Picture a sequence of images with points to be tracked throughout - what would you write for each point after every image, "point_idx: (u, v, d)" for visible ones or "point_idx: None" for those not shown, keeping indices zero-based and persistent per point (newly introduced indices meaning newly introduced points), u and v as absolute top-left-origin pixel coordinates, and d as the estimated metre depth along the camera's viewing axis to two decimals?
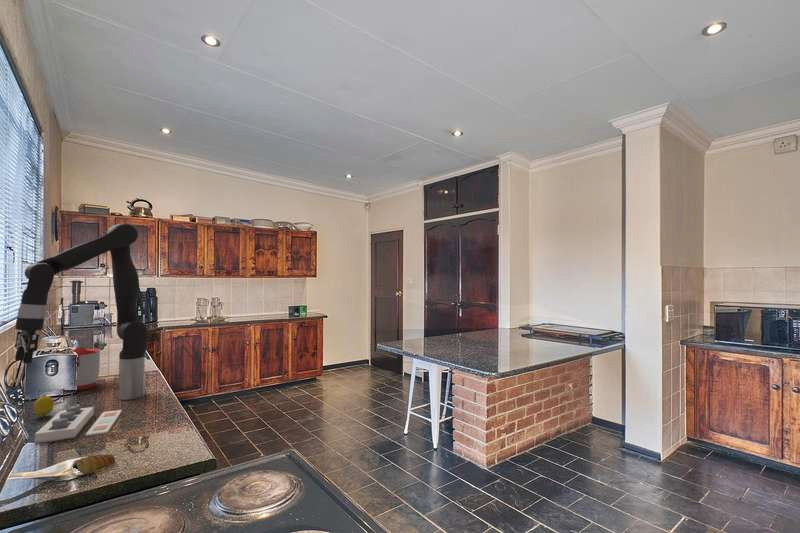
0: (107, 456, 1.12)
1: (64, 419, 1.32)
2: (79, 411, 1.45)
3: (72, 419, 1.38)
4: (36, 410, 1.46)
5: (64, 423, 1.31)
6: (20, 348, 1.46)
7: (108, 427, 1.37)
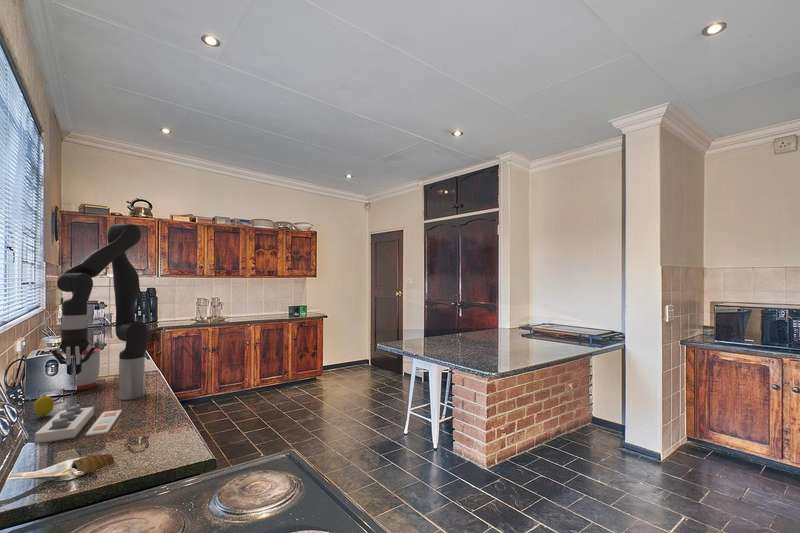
0: (106, 456, 1.12)
1: (64, 419, 1.32)
2: (79, 411, 1.45)
3: (72, 419, 1.38)
4: (36, 410, 1.46)
5: (64, 423, 1.31)
6: (71, 362, 1.44)
7: (108, 427, 1.37)
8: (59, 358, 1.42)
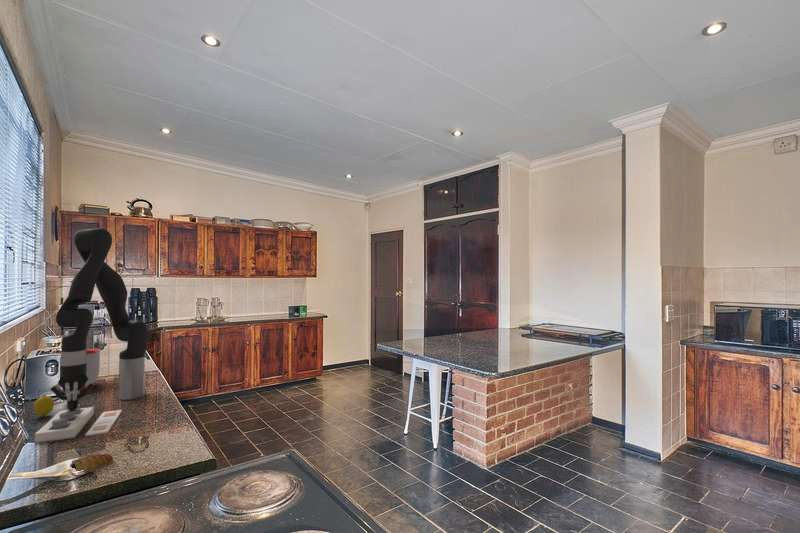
0: (105, 455, 1.12)
1: (64, 419, 1.32)
2: None
3: (72, 419, 1.38)
4: (36, 410, 1.46)
5: (64, 423, 1.31)
6: (71, 397, 1.44)
7: (108, 427, 1.37)
8: (59, 394, 1.42)
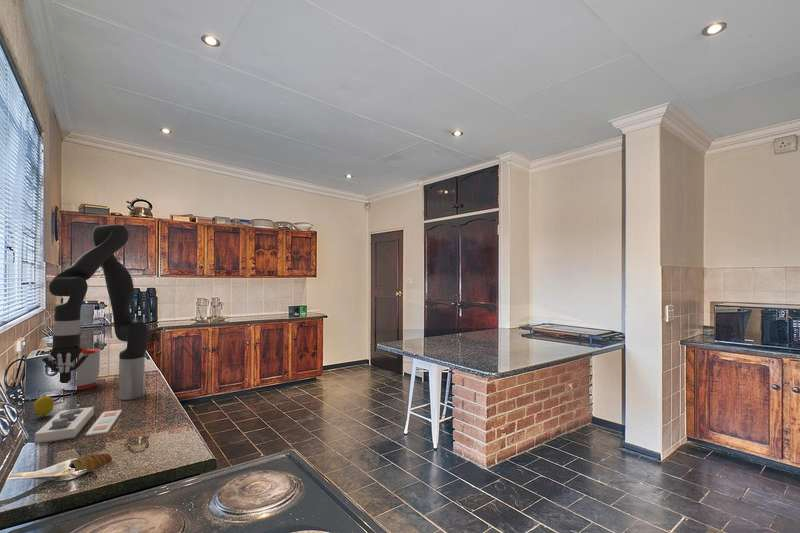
0: (104, 455, 1.13)
1: (64, 419, 1.32)
2: None
3: (72, 419, 1.38)
4: (36, 410, 1.46)
5: (64, 423, 1.31)
6: (64, 369, 1.38)
7: (108, 427, 1.37)
8: (51, 365, 1.36)
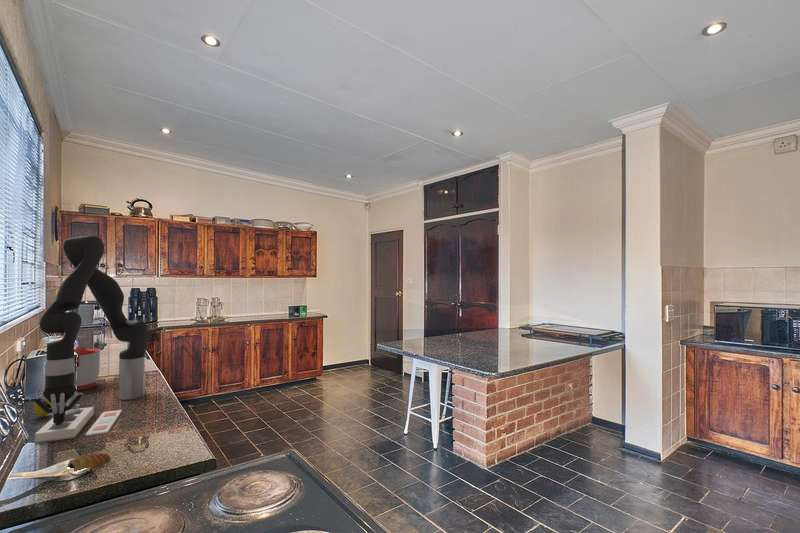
0: (102, 455, 1.13)
1: (64, 423, 1.32)
2: None
3: (72, 419, 1.38)
4: (36, 410, 1.46)
5: (64, 427, 1.31)
6: (58, 410, 1.31)
7: (108, 427, 1.37)
8: (44, 407, 1.29)
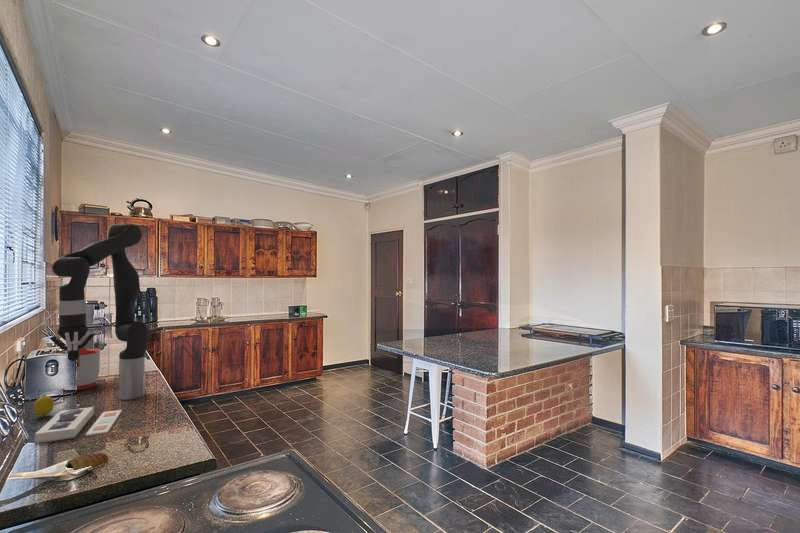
0: (100, 454, 1.13)
1: (64, 423, 1.32)
2: None
3: (72, 419, 1.38)
4: (36, 410, 1.46)
5: (64, 427, 1.31)
6: (72, 347, 1.42)
7: (108, 427, 1.37)
8: (60, 344, 1.40)
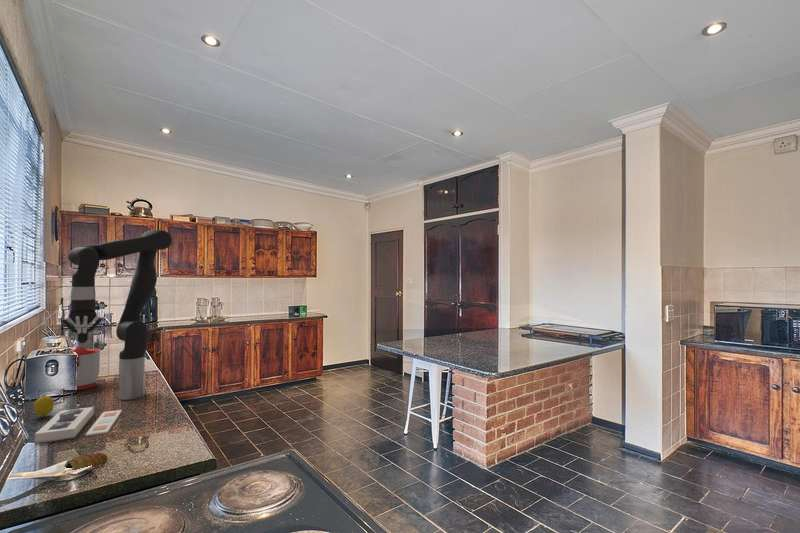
0: (100, 454, 1.13)
1: (64, 423, 1.32)
2: None
3: (72, 419, 1.38)
4: (36, 410, 1.46)
5: (64, 427, 1.31)
6: (81, 330, 1.54)
7: (108, 427, 1.37)
8: (70, 327, 1.51)
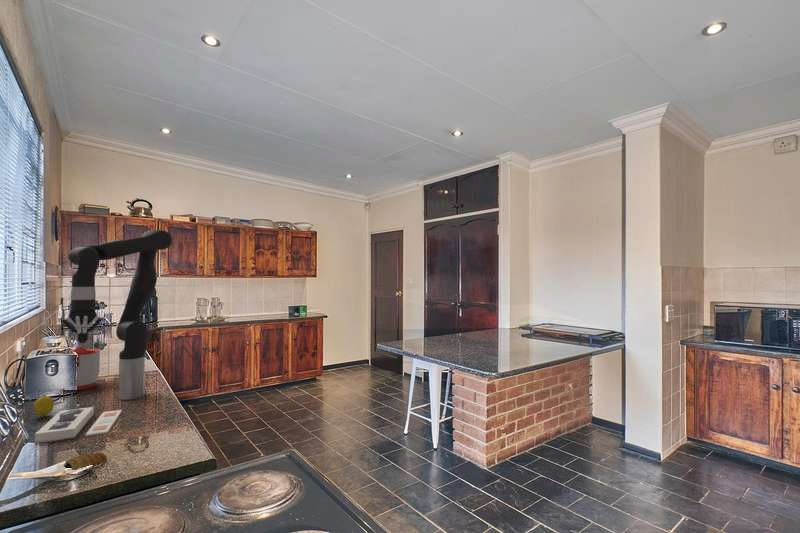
0: (99, 454, 1.13)
1: (64, 423, 1.32)
2: None
3: (72, 419, 1.38)
4: (36, 410, 1.46)
5: (64, 427, 1.31)
6: (81, 330, 1.54)
7: (108, 427, 1.37)
8: (70, 327, 1.51)
